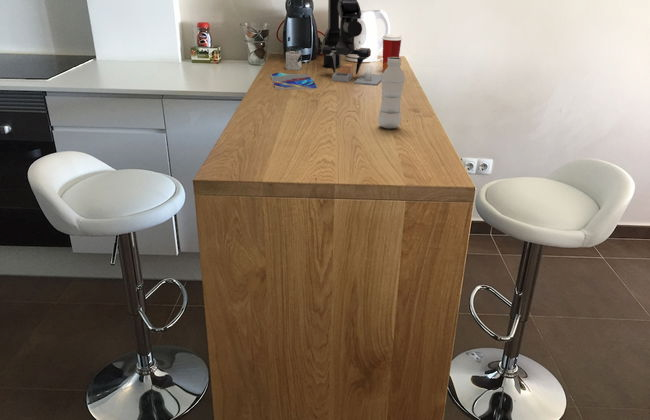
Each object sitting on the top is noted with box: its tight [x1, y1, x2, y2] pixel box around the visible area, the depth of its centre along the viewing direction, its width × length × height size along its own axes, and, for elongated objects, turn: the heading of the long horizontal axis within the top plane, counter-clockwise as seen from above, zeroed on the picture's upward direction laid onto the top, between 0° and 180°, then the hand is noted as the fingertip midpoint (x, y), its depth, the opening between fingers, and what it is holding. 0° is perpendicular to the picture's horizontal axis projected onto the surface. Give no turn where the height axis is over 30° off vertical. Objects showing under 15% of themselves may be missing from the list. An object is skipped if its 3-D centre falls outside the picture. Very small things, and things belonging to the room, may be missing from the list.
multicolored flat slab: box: [269, 72, 318, 90], centre depth 221 cm, size 25×15×2 cm, turn 9°
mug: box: [285, 50, 302, 71], centre depth 244 cm, size 10×7×7 cm
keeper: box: [353, 66, 382, 87], centre depth 226 cm, size 9×18×6 cm, turn 164°
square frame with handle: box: [331, 63, 354, 83], centre depth 229 cm, size 14×6×4 cm, turn 164°
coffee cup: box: [381, 33, 403, 73], centre depth 240 cm, size 8×8×15 cm
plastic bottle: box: [377, 57, 406, 129], centre depth 164 cm, size 6×7×20 cm
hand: (345, 73), depth 231 cm, fingers open, 9 cm apart
